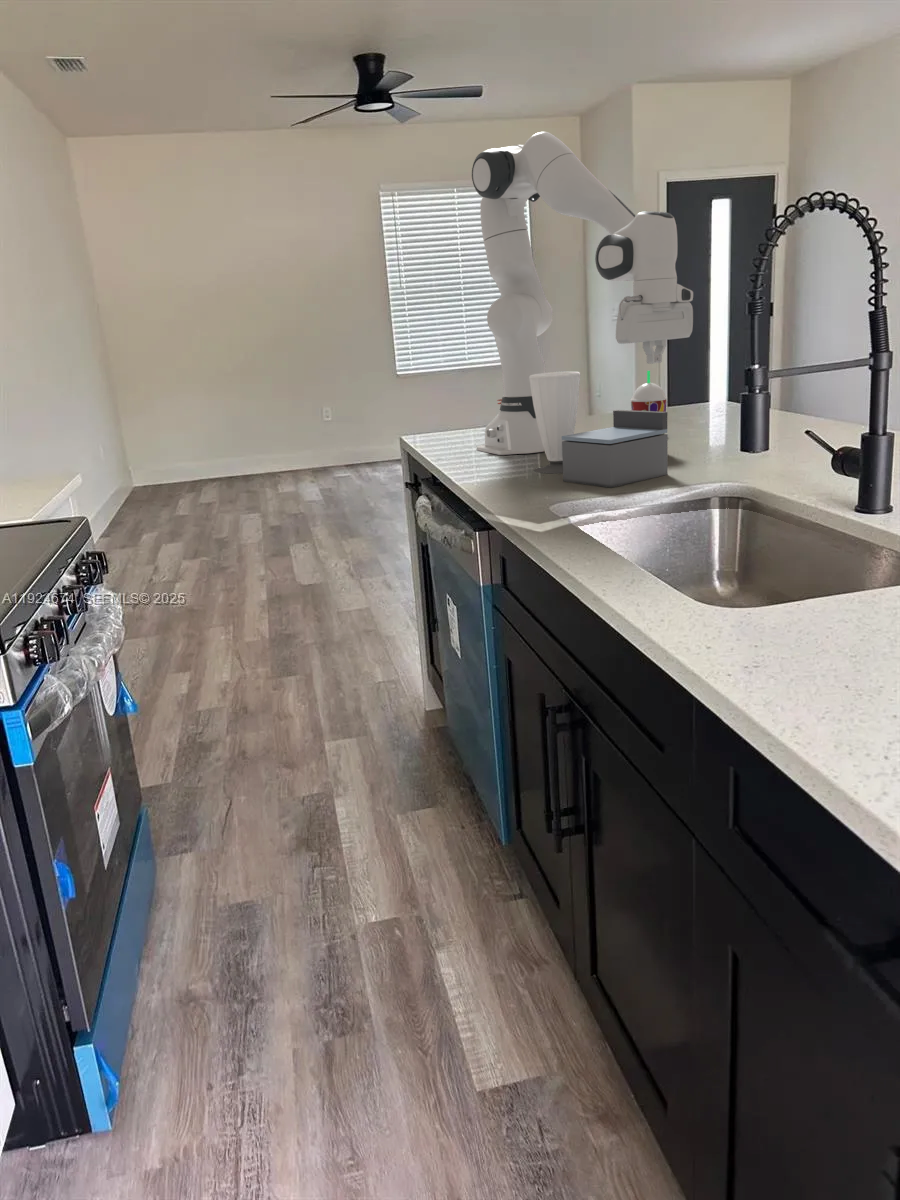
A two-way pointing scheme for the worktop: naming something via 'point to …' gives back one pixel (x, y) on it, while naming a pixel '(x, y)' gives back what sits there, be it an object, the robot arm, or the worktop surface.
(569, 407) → the cup
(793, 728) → the worktop surface
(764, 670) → the worktop surface
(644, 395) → the smoothie
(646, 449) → the box
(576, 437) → the lid
